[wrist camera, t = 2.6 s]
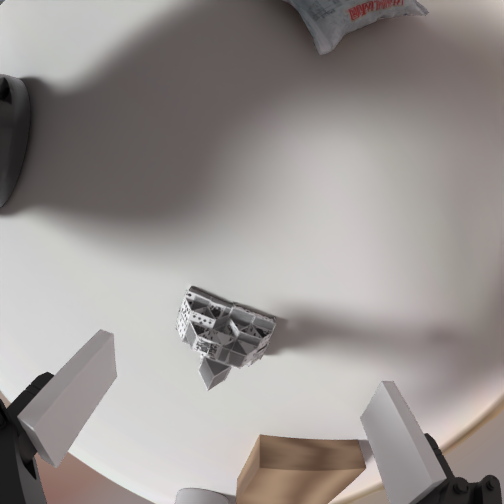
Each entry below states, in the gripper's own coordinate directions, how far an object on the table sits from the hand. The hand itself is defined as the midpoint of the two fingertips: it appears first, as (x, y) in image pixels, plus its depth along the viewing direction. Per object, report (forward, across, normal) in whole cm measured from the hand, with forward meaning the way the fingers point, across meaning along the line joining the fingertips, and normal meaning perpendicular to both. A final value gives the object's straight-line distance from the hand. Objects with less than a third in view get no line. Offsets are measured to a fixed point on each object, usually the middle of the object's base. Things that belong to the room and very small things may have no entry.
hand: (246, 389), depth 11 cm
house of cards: (+10, -3, -4) cm, 11 cm away
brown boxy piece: (+10, +10, -22) cm, 26 cm away
